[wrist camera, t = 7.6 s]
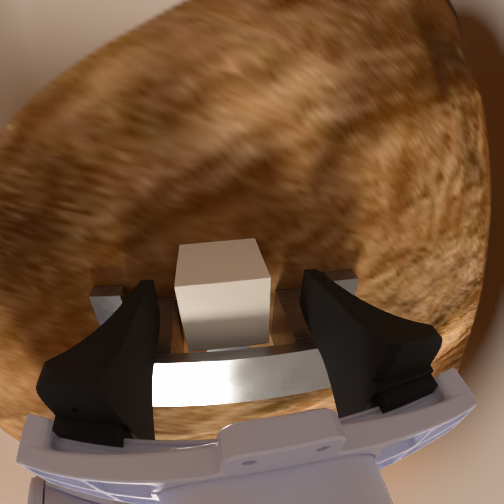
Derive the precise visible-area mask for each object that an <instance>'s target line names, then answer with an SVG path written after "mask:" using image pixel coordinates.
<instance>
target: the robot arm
mask: <svg viewBox="0 0 504 504" xmlns="http://www.w3.org/2000/svg"><path fill="white" fill-rule="evenodd" d="M299 304H300V307H301V311H302V314H303V317H304V320H305V322H306V324H307V327H308V329H309V331H310V333H311V335H312V337H313V339H314V341H315V343H316V346H317V348H318V350H319V352H320V354H321V357H322V359H323V362H324V365H325V368H326V371H327V374H328V377H329V381H330V384H331V388H332V391H333V395H334V399H335V404H336V408H337V413H338V415H337V413H336V411H333V410H330V409H327V408H322V409H313V410H308V411H303V412H298V413H293V414H287V415H281V416H275V417H269V418H262V419H254V420H246V421H242V422H237V423H232V424H230V425H228V426H226V427H224V428H222V429H221V430H220V431H219V433H218V435H217V439H210V440H179V441H172V440H155V435H154V422H153V370H154V363H155V356H156V350H157V344H158V338H159V332H160V310H159V305H158V301H157V296H156V291H155V286H154V281H153V280H141V281H140V282H139V283H138V285H137V286H136V287H135V288H134V289H133V291H132V292H131V293H130V294H129V296H128V297H127V298H126V299H125V301H124V302H123V303H122V304H121V305H120V307H119V308H118V309H117V310H116V311H115V312H114V313H113V314H112V315H111V316H110V317H109V318H108V319H107V320H106V321H105V322H104V323H103V324H102V325H101V326H100V327H99V328H98V329H97V330H95V331H94V332H93V333H92V334H90V335H89V336H88V337H86V338H85V339H84V340H83V341H81V342H80V343H78V344H77V345H75V346H74V347H72V348H70V349H69V350H67V351H65V352H64V353H62V354H60V355H58V356H56V357H54V358H52V359H50V360H48V361H46V362H45V363H44V366H43V368H42V371H41V374H40V376H39V379H38V382H37V385H36V390H37V393H38V395H39V397H40V398H41V399H42V401H43V402H44V403H45V404H46V405H47V406H48V408H49V409H50V410H51V411H52V412H53V413H54V414H55V415H56V416H55V420H54V422H53V421H52V420H50V419H48V418H45V417H41V416H37V415H33V414H27V418H26V421H25V425H24V429H23V432H22V437H21V441H20V445H19V450H18V455H17V459H16V461H17V462H18V463H19V464H20V465H22V466H23V467H25V468H27V469H28V470H29V471H31V472H33V473H34V474H36V475H37V476H36V477H34V478H32V479H31V482H30V488H29V495H28V504H125V503H131V504H393V503H392V500H391V498H390V495H389V493H388V490H387V488H386V486H385V483H384V481H383V478H382V476H381V473H380V471H379V470H380V469H383V468H384V467H387V466H389V465H391V464H393V463H395V462H396V461H399V460H401V459H403V458H404V457H406V456H408V455H410V454H412V453H413V452H415V451H417V450H419V449H421V448H422V447H424V446H425V445H428V444H429V443H431V442H433V441H434V440H436V439H437V438H439V437H441V436H443V435H444V434H446V433H447V432H449V431H451V430H452V429H453V428H454V427H455V426H456V425H457V424H458V423H459V422H460V421H461V420H462V419H463V418H464V417H465V416H466V415H467V414H468V413H469V412H470V411H471V410H472V409H473V408H474V407H475V406H476V405H477V404H478V402H477V400H476V399H475V397H474V396H473V394H472V393H471V391H470V390H469V388H468V387H467V385H466V384H465V382H464V381H463V379H462V378H461V377H460V375H459V374H458V372H457V371H456V370H455V368H451V369H449V370H447V371H445V372H443V373H440V374H439V375H437V376H436V377H435V378H433V376H432V375H431V373H432V372H433V369H432V367H431V366H430V364H431V363H432V361H433V360H434V358H435V356H436V355H437V353H438V351H439V350H440V348H441V344H442V337H441V336H440V335H439V333H438V332H437V331H436V330H435V328H434V327H433V326H432V325H428V324H424V323H419V322H414V321H411V320H407V319H404V318H401V317H398V316H395V315H392V314H390V313H388V312H385V311H383V310H380V309H378V308H376V307H374V306H372V305H370V304H368V303H366V302H365V301H363V300H361V299H359V298H358V297H356V296H355V295H353V294H351V293H350V292H348V291H347V290H345V289H344V288H342V287H341V286H339V285H338V284H337V283H335V282H334V281H332V280H331V279H330V278H328V277H327V276H325V275H324V274H323V273H321V272H320V271H318V270H316V269H313V270H304V275H303V282H302V289H301V295H300V302H299Z"/></svg>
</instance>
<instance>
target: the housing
mask: <svg viewBox="0 0 504 504" xmlns="http://www.w3.org/2000/svg"><path fill="white" fill-rule="evenodd" d="M324 275H325V276H327V277H328V278H330V279H331V280H332V281H334V282H335V283H337V284H338V285H339V286H341V287H342V288H344V289H345V290H347V291H348V292H350V293H351V294H353V295H355V292H356V288H357V284H358V280H359V278H358V276H357V275H356V274H355V273H354V271H353V270H344V271H333V272H324ZM301 289H302V288H294V289H283V290H276V291H275V302H274V313H273V324H272V334H271V337H272V340H273V344H274V346H267V347H258V348H249V349H239V350H227V351H214V352H199V353H184V343H183V338H182V333H181V328H180V322H179V317H178V312H177V306H176V300H175V297H169V298H157V301H158V305H159V310H160V332H159V338H158V344H157V350H156V356H155V363H154V370H153V406H198V405H215V404H227V403H238V402H247V401H255V400H263V399H270V398H277V397H283V396H289V395H295V394H300V393H305V392H310V391H315V390H320V389H324V388H329V387H331V384H330V381H329V377H328V374H327V371H326V368H325V365H324V362H323V359H322V357H321V354H320V352H319V350H318V348H317V346H316V343H315V341H314V339H313V337H312V335H311V333H310V331H309V329H308V327H307V324H306V322H305V320H304V317H303V314H302V311H301V307H300V304H299V302H300V295H301ZM126 298H127V297H126V293H125V290H124V286H98V287H93V289H92V291H91V293H90V295H89V299H90V301H91V304H92V307H93V310H94V312H95V315H96V317H97V320H98V323H99V325H100V326H101V325H102V324H103V323H104V322H105V321H106V320H107V319H108V318H109V317H110V316H111V315H112V314H113V313H114V312H115V311H116V310H117V309H118V308H119V307H120V305H121V304H122V303H123V302H124V301H125V299H126Z"/></svg>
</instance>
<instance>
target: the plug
mask: <svg viewBox="0 0 504 504" xmlns="http://www.w3.org/2000/svg"><path fill="white" fill-rule="evenodd" d="M270 281H271V277H270V275H269V272H268V270H267V267H266V265H265V262H264V260H263V257H262V255H261V252H260V250H259V247H258V245H257V242H256V240H255V238H251V239H240V240H228V241H217V242H205V243H194V244H184V245H179V252H178V260H177V268H176V276H175V285H174V288H175V293H176V298H177V302H178V307H179V312H180V316H181V321H182V325H183V329H184V333H185V338H186V342H187V346H188V350H189V351H202V350H207V352H214V351H227V350H239V349H249V345H257V344H264V343H268V340H269V313H270Z"/></svg>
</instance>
